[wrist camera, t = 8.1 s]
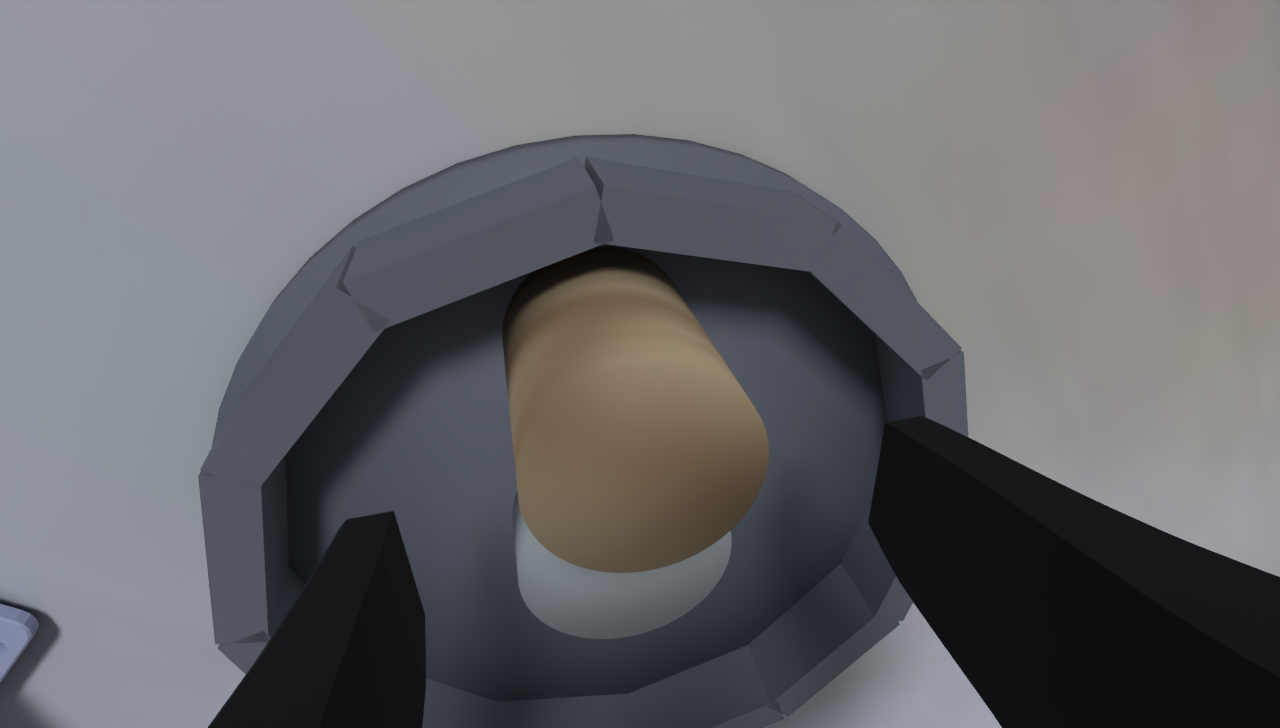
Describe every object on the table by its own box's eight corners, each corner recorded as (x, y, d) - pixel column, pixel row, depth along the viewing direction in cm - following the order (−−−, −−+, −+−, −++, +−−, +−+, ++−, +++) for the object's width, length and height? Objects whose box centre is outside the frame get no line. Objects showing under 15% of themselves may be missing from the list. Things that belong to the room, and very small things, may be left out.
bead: (605, 437, 16) (654, 602, 12) (463, 353, 14) (463, 512, 10) (720, 315, 15) (816, 447, 11) (583, 206, 13) (638, 317, 9)
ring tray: (631, 758, 25) (648, 842, 22) (70, 582, 16) (3, 688, 14) (1031, 409, 20) (1106, 468, 18) (555, -91, 12) (577, -105, 9)
